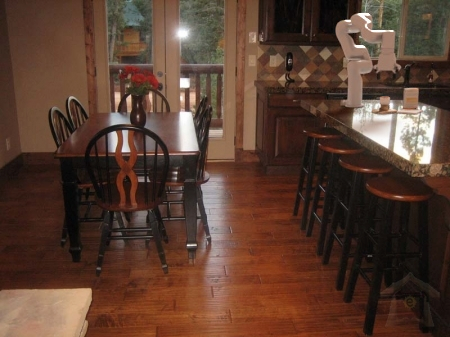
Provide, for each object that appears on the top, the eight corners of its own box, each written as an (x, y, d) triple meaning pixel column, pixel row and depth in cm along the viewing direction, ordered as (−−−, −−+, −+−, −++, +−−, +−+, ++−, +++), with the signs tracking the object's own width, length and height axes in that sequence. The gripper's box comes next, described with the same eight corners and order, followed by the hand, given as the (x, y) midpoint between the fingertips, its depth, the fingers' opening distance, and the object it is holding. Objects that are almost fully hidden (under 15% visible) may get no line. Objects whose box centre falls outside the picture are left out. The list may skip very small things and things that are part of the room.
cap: (378, 104, 292) (378, 97, 291) (381, 103, 296) (382, 96, 295) (387, 104, 288) (387, 97, 287) (391, 103, 293) (391, 96, 291)
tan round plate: (367, 112, 293) (368, 104, 292) (377, 109, 304) (377, 101, 303) (391, 114, 284) (391, 106, 282) (400, 111, 294) (400, 103, 293)
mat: (396, 113, 287) (396, 111, 287) (403, 110, 296) (403, 108, 296) (416, 114, 280) (416, 112, 279) (423, 111, 288) (423, 110, 288)
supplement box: (415, 107, 305) (416, 87, 301) (417, 108, 300) (419, 88, 297) (402, 108, 306) (403, 88, 302) (404, 109, 301) (405, 88, 298)
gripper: (371, 52, 286) (370, 80, 291) (399, 51, 276) (397, 80, 280) (376, 51, 292) (375, 78, 296) (404, 51, 281) (402, 79, 286)
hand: (386, 79), depth 288 cm, fingers open, 9 cm apart
